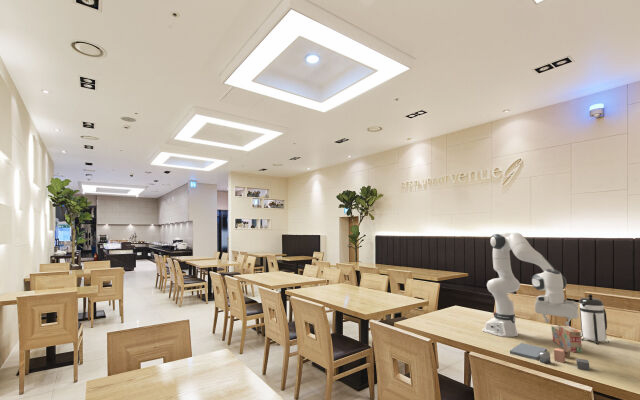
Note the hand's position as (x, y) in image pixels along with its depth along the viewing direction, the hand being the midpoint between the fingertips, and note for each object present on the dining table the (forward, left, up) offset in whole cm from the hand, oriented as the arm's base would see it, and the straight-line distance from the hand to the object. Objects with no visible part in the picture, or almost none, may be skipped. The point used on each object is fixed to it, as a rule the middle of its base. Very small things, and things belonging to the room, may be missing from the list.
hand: (557, 323), depth 187 cm
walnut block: (0, +9, -20) cm, 22 cm away
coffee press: (+7, +55, -20) cm, 59 cm away
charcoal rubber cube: (+11, -3, -20) cm, 23 cm away
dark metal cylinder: (-5, -8, -20) cm, 22 cm away
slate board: (-16, +2, -20) cm, 26 cm away
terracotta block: (0, 0, -20) cm, 20 cm away
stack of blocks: (-3, +30, -21) cm, 37 cm away
